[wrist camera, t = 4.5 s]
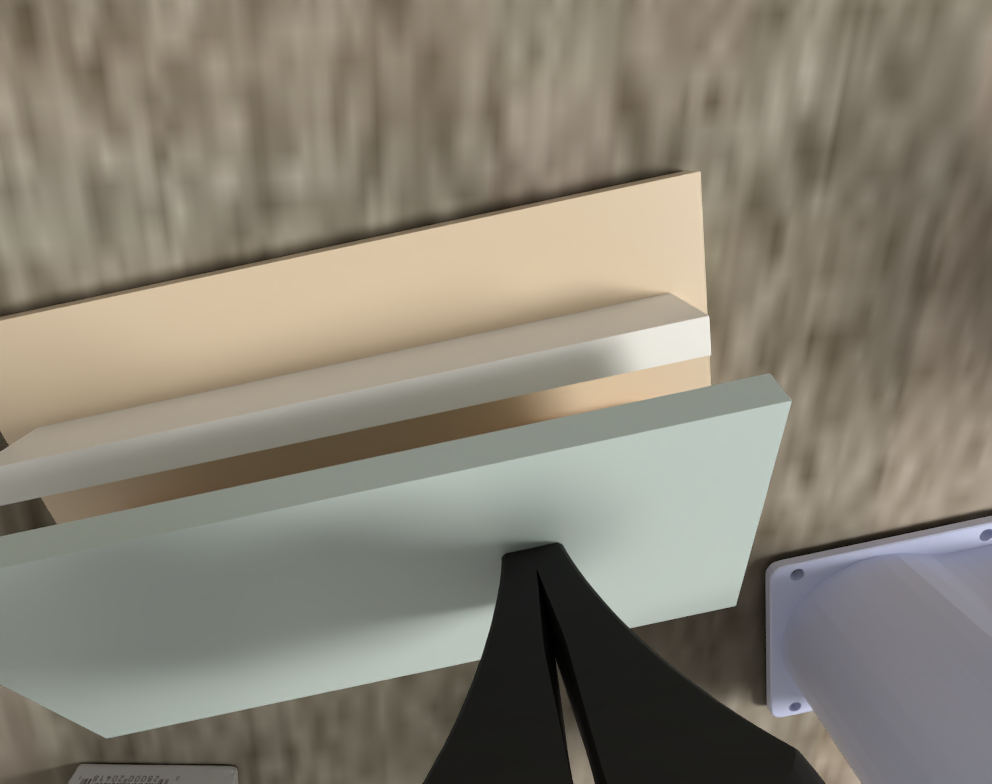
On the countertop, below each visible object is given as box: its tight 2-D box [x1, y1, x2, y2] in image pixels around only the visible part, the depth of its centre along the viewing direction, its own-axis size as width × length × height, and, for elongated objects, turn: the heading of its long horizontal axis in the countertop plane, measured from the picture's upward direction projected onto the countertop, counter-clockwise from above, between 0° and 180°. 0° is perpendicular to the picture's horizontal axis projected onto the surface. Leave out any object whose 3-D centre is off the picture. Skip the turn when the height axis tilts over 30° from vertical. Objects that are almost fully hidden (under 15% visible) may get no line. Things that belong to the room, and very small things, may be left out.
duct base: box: [0, 171, 711, 524], centre depth 16 cm, size 20×14×4 cm
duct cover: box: [0, 373, 792, 739], centre depth 13 cm, size 18×8×1 cm, turn 101°
